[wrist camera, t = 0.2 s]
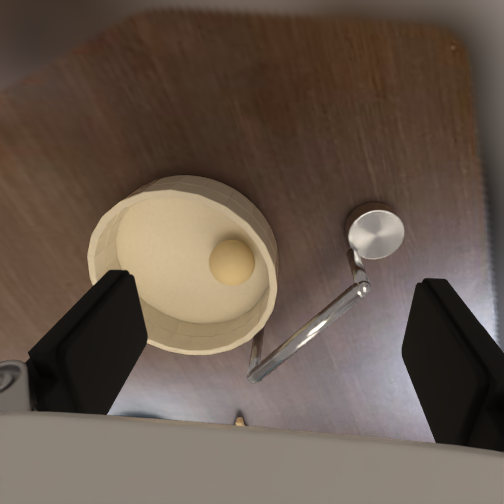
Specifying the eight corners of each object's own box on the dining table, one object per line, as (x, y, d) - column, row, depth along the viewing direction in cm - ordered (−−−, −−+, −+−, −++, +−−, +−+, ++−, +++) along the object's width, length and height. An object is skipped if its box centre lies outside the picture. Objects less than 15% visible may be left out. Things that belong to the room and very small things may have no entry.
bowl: (166, 134, 27) (144, 143, 23) (315, 251, 30) (318, 277, 26) (87, 264, 34) (59, 289, 30) (215, 347, 37) (205, 380, 33)
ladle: (372, 191, 27) (396, 225, 21) (409, 223, 28) (443, 265, 21) (240, 319, 35) (228, 373, 28) (272, 342, 36) (267, 398, 29)
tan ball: (231, 223, 29) (222, 243, 25) (266, 250, 30) (262, 272, 26) (206, 253, 31) (194, 276, 27) (240, 278, 32) (233, 303, 28)
